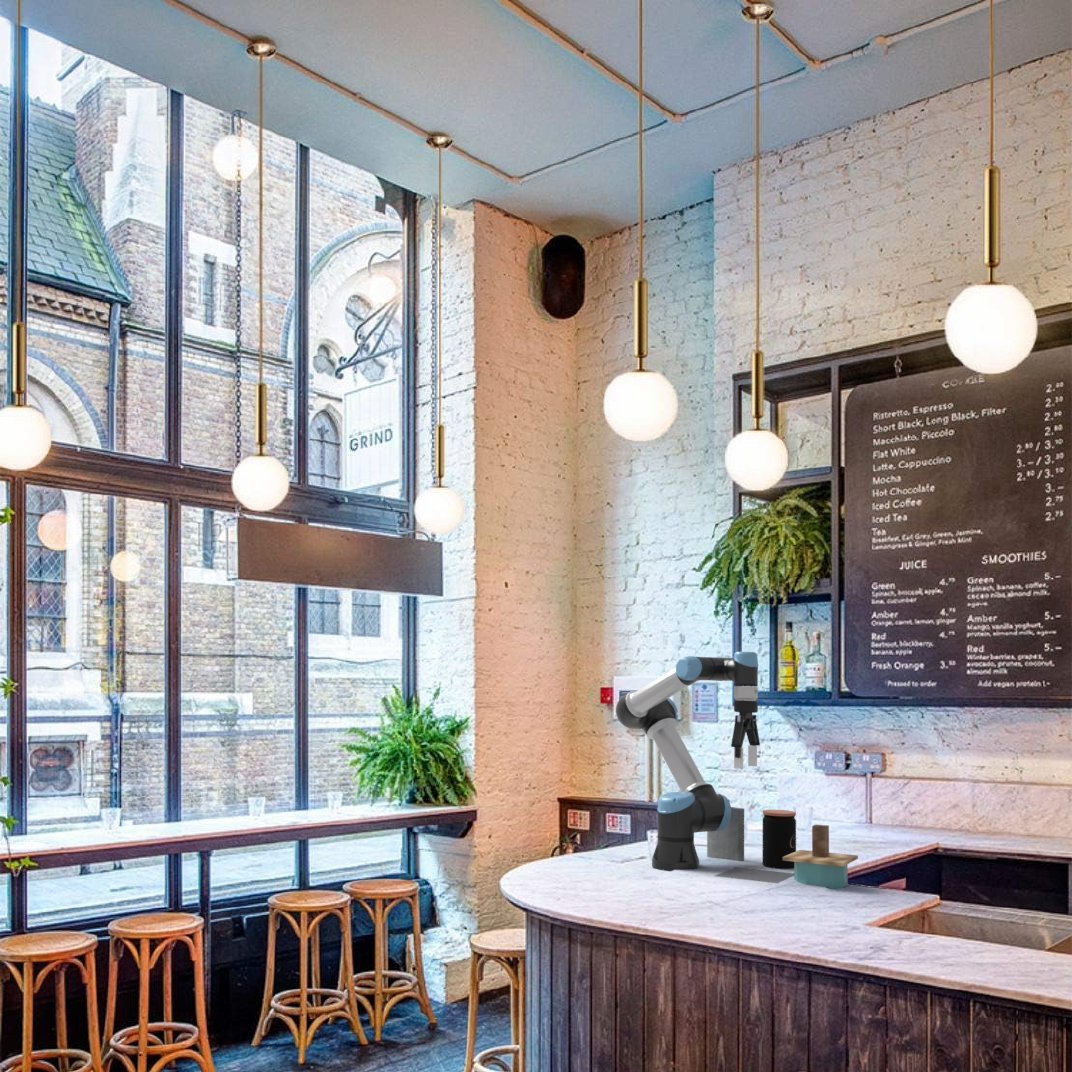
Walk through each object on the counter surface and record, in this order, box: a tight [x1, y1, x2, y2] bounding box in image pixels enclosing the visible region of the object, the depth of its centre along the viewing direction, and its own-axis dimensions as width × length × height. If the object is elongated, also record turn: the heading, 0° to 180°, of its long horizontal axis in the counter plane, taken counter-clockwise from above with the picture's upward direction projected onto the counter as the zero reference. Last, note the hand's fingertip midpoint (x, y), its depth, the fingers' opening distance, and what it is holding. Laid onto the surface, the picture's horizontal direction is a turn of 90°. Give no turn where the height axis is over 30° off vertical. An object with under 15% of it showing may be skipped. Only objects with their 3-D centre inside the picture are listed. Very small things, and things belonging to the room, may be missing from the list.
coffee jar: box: [762, 809, 797, 870], centre depth 376 cm, size 11×11×18 cm
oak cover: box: [783, 824, 859, 866], centre depth 349 cm, size 18×18×10 cm
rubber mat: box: [714, 866, 795, 884], centre depth 357 cm, size 20×20×1 cm
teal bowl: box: [793, 862, 849, 889], centre depth 348 cm, size 15×15×7 cm
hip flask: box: [706, 798, 745, 862], centre depth 391 cm, size 16×4×20 cm, turn 37°
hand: (745, 767), depth 367 cm, fingers open, 13 cm apart
